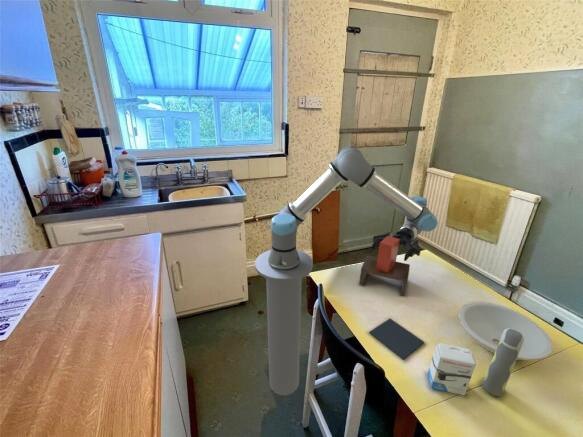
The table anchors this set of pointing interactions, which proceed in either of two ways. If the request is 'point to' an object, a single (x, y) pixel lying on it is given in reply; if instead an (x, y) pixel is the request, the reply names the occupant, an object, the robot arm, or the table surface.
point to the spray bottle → (503, 362)
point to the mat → (396, 338)
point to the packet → (387, 253)
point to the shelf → (396, 273)
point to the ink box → (451, 368)
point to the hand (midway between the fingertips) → (388, 252)
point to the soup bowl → (495, 319)
